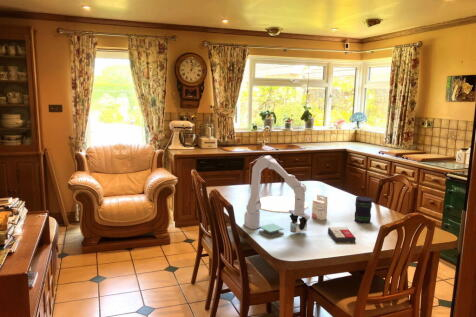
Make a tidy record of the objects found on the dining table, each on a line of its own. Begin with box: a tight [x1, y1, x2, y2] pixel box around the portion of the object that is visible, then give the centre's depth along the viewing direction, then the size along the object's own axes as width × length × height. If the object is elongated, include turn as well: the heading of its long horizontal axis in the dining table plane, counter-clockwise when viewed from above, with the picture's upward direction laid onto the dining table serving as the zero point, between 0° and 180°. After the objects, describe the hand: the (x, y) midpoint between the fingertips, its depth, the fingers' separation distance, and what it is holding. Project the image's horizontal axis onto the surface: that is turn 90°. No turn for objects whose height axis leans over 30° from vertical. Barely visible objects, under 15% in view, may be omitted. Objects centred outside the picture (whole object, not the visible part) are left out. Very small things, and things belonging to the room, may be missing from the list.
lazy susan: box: [259, 195, 309, 213], centre depth 280 cm, size 40×39×3 cm
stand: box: [258, 223, 285, 238], centre depth 221 cm, size 10×10×4 cm
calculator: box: [327, 226, 357, 244], centre depth 216 cm, size 11×4×15 cm
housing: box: [289, 220, 308, 234], centre depth 221 cm, size 5×10×5 cm, turn 124°
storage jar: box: [353, 196, 373, 225], centre depth 244 cm, size 10×10×15 cm
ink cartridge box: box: [311, 194, 328, 221], centre depth 249 cm, size 9×5×15 cm, turn 44°
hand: (298, 228), depth 221 cm, fingers closed on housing, 5 cm apart
